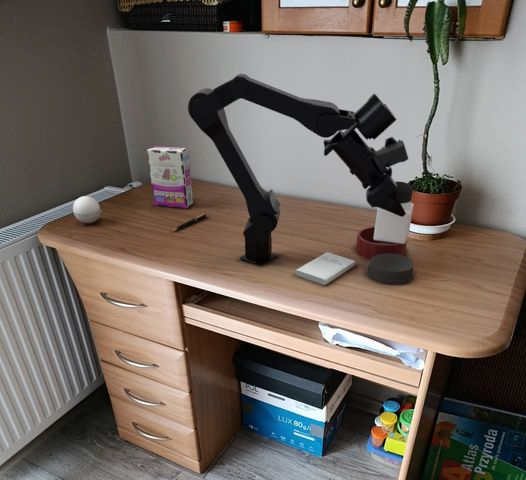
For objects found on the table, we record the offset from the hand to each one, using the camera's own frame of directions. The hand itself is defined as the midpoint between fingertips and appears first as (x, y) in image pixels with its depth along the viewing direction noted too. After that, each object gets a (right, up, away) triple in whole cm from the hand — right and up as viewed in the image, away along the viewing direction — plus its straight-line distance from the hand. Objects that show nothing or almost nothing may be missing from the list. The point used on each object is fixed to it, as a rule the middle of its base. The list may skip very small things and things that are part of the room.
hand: (402, 208), depth 114 cm
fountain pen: (-51, +4, +30) cm, 59 cm away
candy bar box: (-58, +13, +43) cm, 73 cm away
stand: (-2, -14, +3) cm, 14 cm away
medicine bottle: (-1, -5, +4) cm, 7 cm away
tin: (-2, -7, +14) cm, 15 cm away
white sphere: (-79, +4, +31) cm, 84 cm away
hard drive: (-16, -13, +5) cm, 22 cm away
